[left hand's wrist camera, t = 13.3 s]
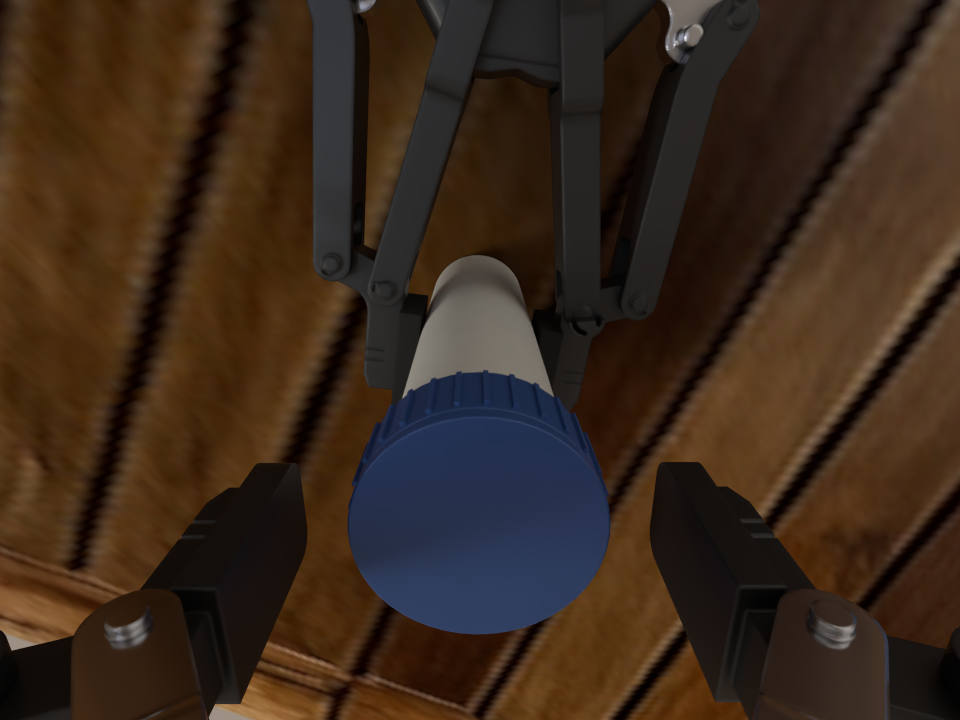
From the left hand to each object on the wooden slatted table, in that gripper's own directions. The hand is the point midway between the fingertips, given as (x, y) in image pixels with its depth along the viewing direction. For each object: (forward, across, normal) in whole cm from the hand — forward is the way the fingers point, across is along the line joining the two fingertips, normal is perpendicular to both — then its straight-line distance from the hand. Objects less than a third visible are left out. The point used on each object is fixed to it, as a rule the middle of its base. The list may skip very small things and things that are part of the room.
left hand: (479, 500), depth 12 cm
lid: (-1, 0, 0) cm, 1 cm away
